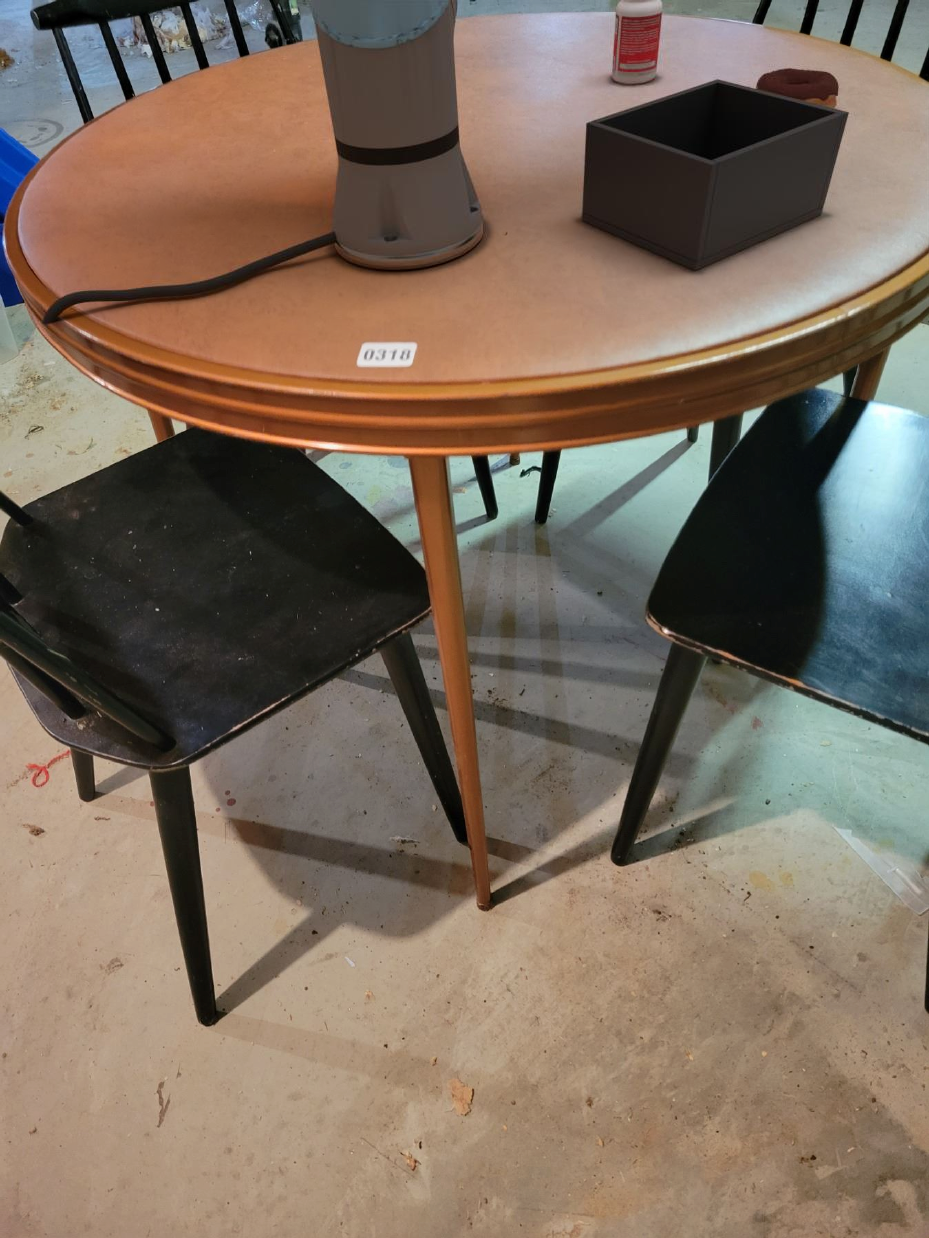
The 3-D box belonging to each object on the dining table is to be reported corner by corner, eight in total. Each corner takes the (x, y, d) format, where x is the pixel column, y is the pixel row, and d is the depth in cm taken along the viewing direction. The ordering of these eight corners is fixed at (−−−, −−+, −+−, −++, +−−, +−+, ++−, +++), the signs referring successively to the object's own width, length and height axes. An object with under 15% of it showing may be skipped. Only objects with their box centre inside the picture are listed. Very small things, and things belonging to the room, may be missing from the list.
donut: (852, 110, 95) (862, 72, 92) (799, 131, 91) (808, 91, 88) (785, 94, 101) (792, 57, 98) (733, 112, 97) (739, 75, 94)
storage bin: (694, 271, 70) (711, 165, 64) (581, 220, 79) (585, 122, 72) (821, 214, 76) (849, 112, 69) (703, 173, 85) (717, 79, 78)
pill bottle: (664, 79, 108) (675, -22, 100) (627, 88, 106) (635, -14, 98) (638, 69, 112) (647, -29, 103) (603, 78, 110) (608, -21, 102)
